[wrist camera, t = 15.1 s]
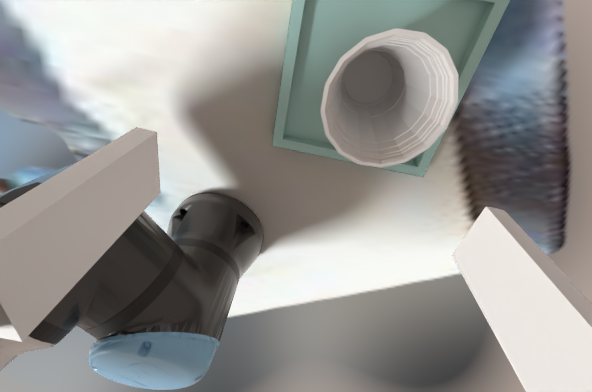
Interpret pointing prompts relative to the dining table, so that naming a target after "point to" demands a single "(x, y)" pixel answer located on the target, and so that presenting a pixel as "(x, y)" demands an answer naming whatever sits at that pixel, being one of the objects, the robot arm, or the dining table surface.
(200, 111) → the dining table surface
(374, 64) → the plastic cup
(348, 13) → the tray
